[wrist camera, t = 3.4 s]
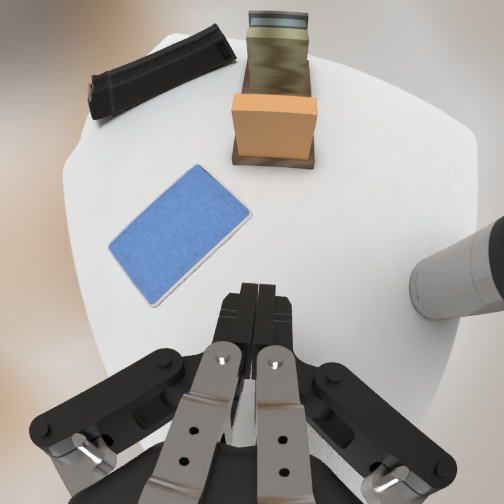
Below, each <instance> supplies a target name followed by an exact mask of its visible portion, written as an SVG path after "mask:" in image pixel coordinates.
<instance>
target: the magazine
mask: <svg viewBox="0 0 504 504" xmlns="http://www.w3.org/2000/svg"><path fill="white" fill-rule="evenodd" d="M236 58H237V57H236V56H235V54H234V52H233V50H232V48H231V47H230V45H229V43H228V41H227V40H226V38H225V36H224V35H223V33H222V32H221V31H220V29H219V27H218V26H217V25H216V24H213V25H212V26H211V27H209V28H207V29H205V30H203V31H201V32H199V33H197V34H195V35H193V36H191V37H189V38H187V39H184V40H182V41H179V42H177V43H175V44H172V45H170V46H168V47H166V48H164V49H162V50H159V51H157V52H155V53H152V54H150V55H148V56H145V57H143V58H141V59H138V60H136V61H133V62H131V63H128V64H126V65H123V66H121V67H118V68H116V69H113V70H110V71H106V72H104V73H102V74H100V75H93V76H92V84H91V86H90V84H89V83H88V103H89V108H90V112H91V116H92V119H93V120H98V119H101V118H104V117H106V116H109V115H112V114H113V117H114V116H115V113H117V112H119V111H122V110H124V109H126V108H129V107H131V106H134V105H136V104H139V103H141V102H144V101H146V100H149V99H151V98H153V97H156V96H158V95H160V94H162V93H164V92H166V91H168V90H171V89H173V88H175V87H177V86H179V85H181V84H184V83H186V82H188V81H190V80H192V79H194V78H196V77H198V76H200V75H202V74H204V73H206V72H208V71H210V70H212V69H214V68H216V67H218V66H220V65H222V64H224V63H226V62H229V61H231V60H233V59H236Z"/></svg>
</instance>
